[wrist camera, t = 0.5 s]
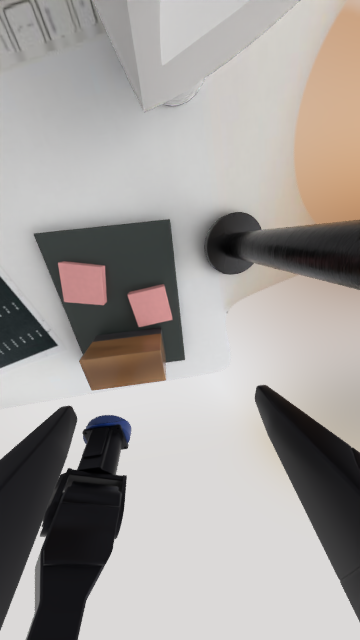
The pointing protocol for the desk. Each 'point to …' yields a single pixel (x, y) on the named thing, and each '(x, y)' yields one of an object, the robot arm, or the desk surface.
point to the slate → (118, 277)
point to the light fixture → (182, 40)
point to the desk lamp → (287, 248)
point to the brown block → (125, 359)
